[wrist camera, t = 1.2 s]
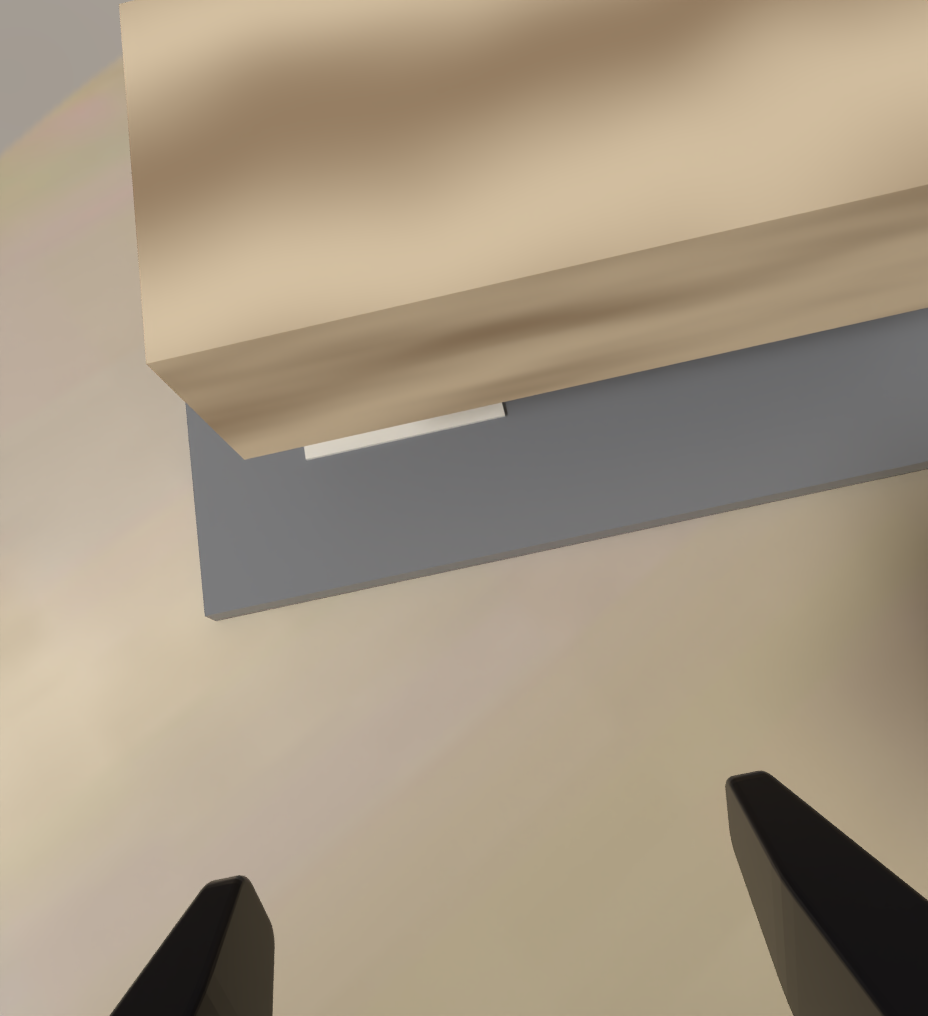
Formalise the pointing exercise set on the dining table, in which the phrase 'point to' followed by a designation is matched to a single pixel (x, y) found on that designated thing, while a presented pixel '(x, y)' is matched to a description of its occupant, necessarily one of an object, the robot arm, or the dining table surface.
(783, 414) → the label board
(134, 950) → the dining table surface
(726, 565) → the dining table surface
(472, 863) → the dining table surface
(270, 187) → the beige wooden block
